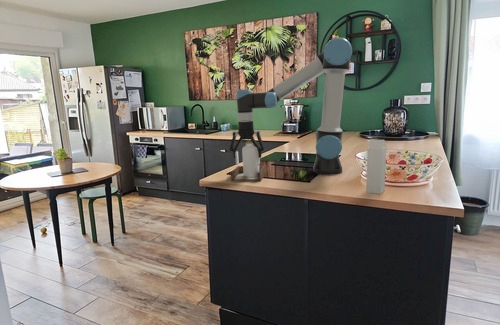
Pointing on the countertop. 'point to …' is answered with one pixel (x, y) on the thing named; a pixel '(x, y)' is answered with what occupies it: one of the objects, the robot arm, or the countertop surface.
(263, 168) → the brown tray
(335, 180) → the countertop surface
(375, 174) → the milk
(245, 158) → the white bottle
